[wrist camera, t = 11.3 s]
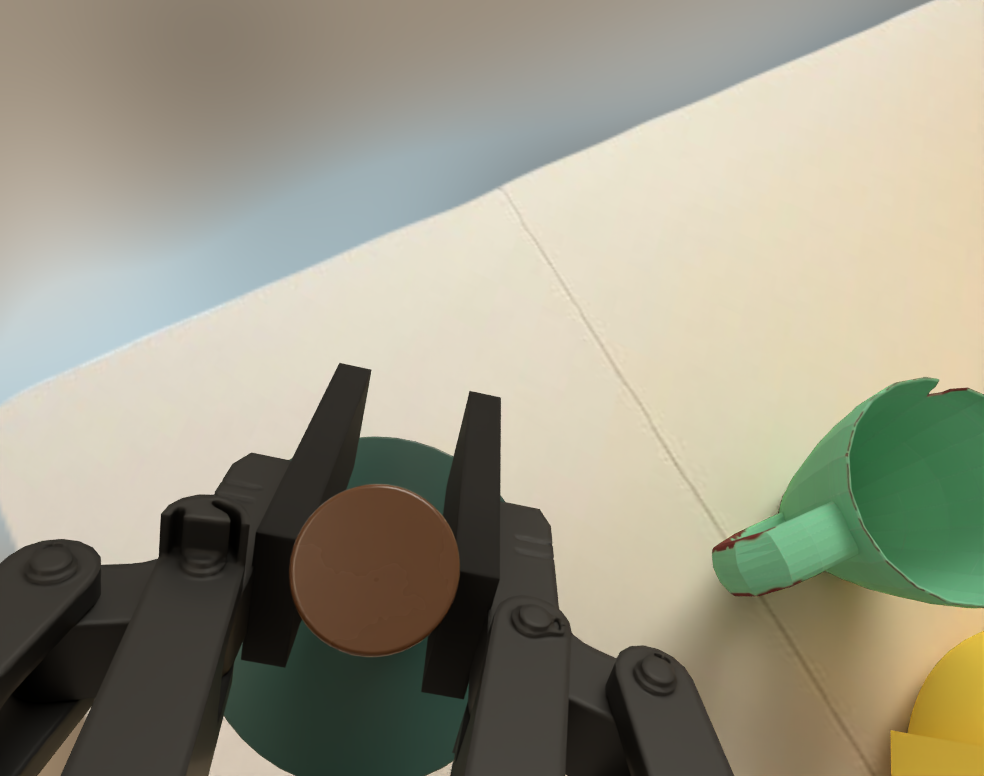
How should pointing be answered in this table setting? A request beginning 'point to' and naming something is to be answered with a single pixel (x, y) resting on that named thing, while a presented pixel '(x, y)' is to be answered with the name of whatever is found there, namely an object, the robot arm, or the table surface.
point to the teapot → (946, 718)
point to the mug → (880, 504)
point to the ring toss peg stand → (362, 628)
